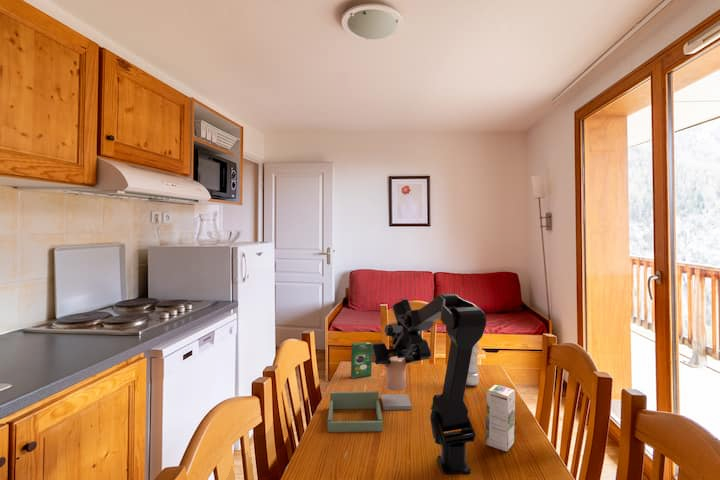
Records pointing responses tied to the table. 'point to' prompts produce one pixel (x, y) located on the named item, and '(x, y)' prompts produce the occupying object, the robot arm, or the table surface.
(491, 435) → the syrup box
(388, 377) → the pink tall rounded piece
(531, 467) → the table surface
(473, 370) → the plastic bottle
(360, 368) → the coffee box
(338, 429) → the frame
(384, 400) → the slate tile
